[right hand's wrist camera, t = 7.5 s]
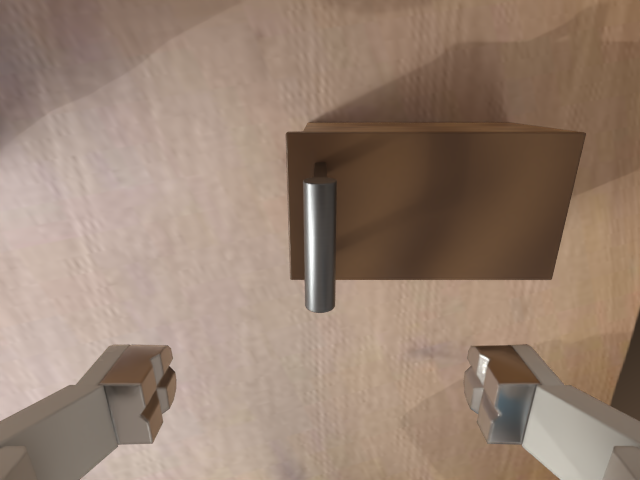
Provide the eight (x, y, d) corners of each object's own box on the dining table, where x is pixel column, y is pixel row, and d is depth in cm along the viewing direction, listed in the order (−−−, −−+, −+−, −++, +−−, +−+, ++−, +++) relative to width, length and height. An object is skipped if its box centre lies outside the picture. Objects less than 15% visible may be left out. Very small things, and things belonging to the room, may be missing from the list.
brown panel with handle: (291, 274, 27) (279, 340, 20) (286, 131, 23) (271, 146, 16) (544, 274, 27) (627, 340, 19) (577, 131, 23) (692, 146, 16)
